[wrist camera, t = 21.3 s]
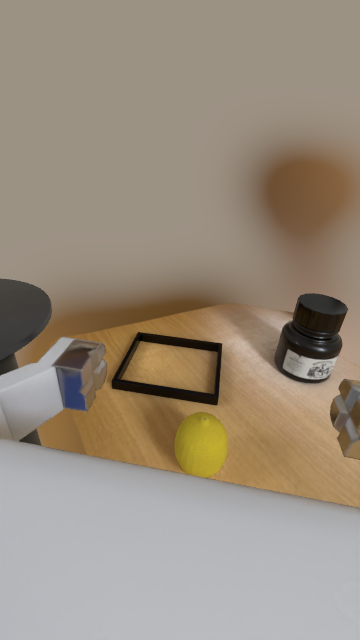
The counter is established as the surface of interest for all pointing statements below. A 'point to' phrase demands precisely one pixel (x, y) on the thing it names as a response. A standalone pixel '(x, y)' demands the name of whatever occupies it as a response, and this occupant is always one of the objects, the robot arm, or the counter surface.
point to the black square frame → (163, 390)
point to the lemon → (201, 445)
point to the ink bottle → (311, 339)
